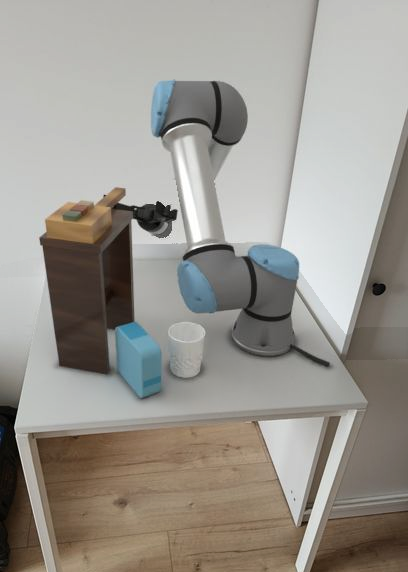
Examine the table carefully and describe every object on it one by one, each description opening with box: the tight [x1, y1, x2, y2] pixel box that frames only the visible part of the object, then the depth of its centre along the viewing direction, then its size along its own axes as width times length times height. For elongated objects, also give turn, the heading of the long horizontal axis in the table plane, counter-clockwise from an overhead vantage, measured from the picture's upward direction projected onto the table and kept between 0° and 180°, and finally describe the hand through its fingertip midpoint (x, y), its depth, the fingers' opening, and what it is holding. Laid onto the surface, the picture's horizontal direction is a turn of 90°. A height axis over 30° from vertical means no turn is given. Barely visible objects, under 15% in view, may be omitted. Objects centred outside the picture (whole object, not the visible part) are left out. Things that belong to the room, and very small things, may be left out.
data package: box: [114, 321, 162, 399], centre depth 104 cm, size 12×4×12 cm, turn 34°
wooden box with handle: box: [44, 186, 127, 244], centre depth 103 cm, size 28×9×5 cm, turn 168°
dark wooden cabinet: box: [38, 209, 136, 375], centre depth 109 cm, size 19×12×30 cm, turn 168°
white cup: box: [167, 321, 206, 379], centre depth 109 cm, size 8×8×10 cm
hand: (130, 203), depth 123 cm, fingers open, 13 cm apart
